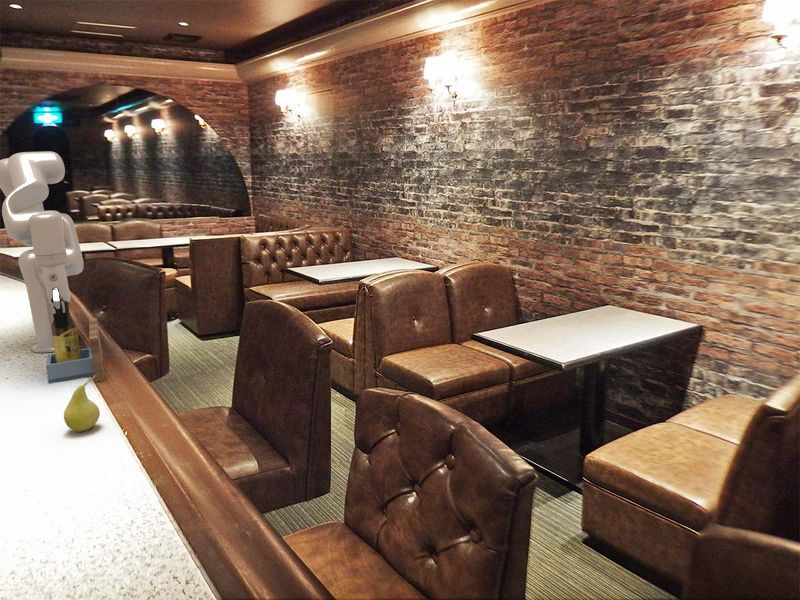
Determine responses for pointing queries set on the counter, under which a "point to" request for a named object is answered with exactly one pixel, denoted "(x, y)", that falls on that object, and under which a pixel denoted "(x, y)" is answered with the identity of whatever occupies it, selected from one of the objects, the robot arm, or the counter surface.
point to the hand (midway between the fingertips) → (62, 323)
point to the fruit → (81, 410)
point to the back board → (96, 349)
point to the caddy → (70, 367)
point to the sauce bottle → (66, 340)
